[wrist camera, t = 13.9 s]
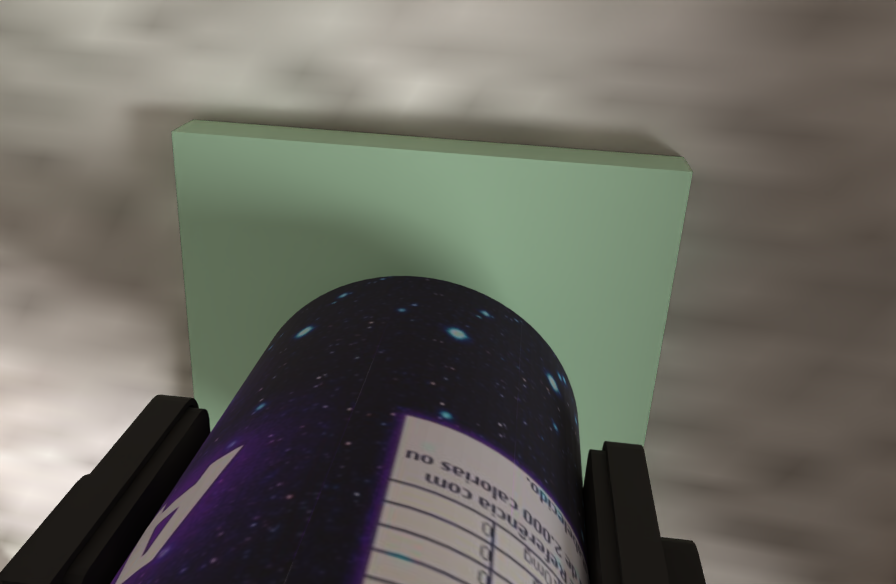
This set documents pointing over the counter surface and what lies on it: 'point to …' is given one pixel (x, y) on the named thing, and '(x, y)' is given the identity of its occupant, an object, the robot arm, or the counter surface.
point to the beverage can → (384, 453)
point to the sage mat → (432, 246)
